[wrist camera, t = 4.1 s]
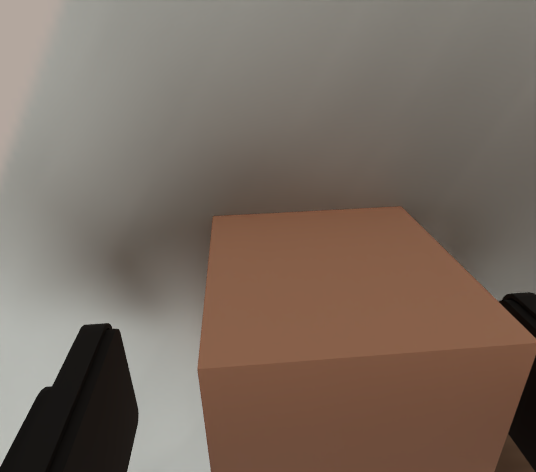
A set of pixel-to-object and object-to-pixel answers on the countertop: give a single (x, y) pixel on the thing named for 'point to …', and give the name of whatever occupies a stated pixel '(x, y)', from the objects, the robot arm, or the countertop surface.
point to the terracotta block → (352, 348)
